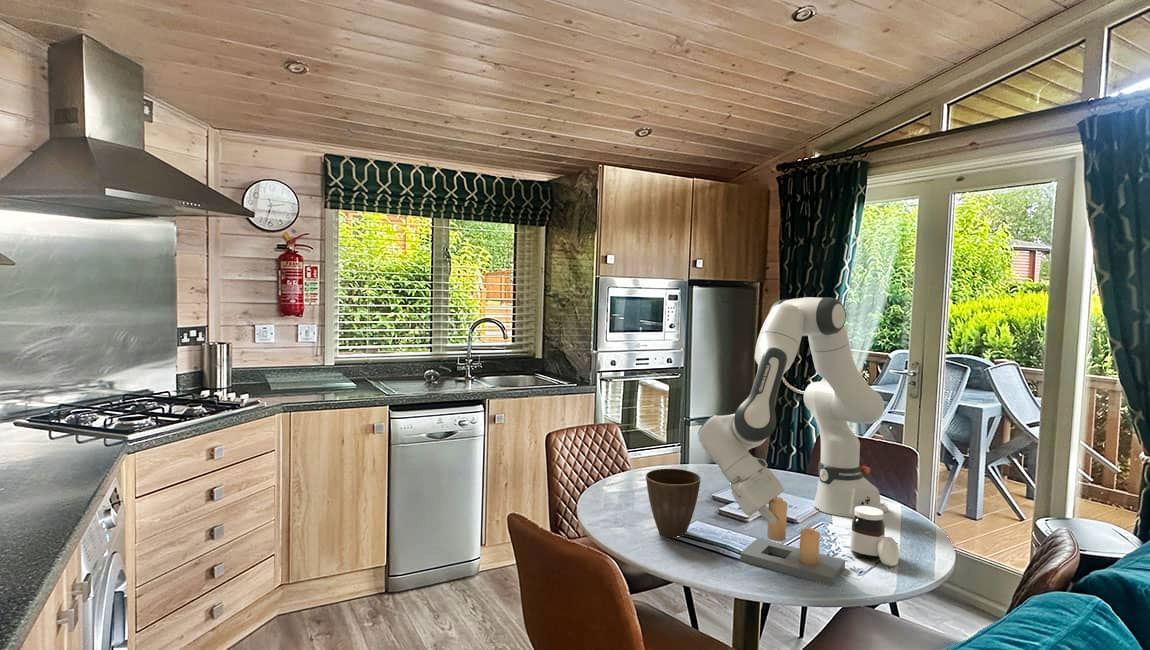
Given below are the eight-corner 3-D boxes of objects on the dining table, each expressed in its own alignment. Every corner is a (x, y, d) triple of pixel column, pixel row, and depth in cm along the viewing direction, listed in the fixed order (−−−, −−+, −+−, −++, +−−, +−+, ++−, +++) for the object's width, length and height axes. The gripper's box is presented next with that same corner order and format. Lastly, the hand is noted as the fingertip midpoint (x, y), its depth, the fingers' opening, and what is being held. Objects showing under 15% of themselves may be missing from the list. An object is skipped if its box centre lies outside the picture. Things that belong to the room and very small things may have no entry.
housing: (740, 560, 162) (741, 521, 161) (757, 545, 171) (758, 508, 171) (831, 586, 149) (833, 543, 148) (844, 568, 158) (846, 528, 158)
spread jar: (853, 544, 173) (855, 502, 172) (900, 554, 167) (902, 510, 167) (846, 560, 163) (849, 515, 162) (896, 571, 157) (899, 524, 156)
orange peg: (778, 533, 165) (779, 494, 164) (789, 539, 161) (791, 500, 160) (763, 535, 163) (765, 496, 163) (774, 541, 159) (776, 502, 159)
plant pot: (669, 548, 169) (670, 488, 168) (633, 529, 181) (634, 473, 180) (710, 536, 177) (712, 479, 176) (673, 519, 189) (675, 465, 188)
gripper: (736, 475, 157) (774, 524, 152) (766, 458, 173) (801, 501, 168) (718, 489, 160) (755, 538, 154) (749, 471, 176) (783, 514, 171)
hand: (779, 519), depth 161 cm, fingers closed on orange peg, 4 cm apart
